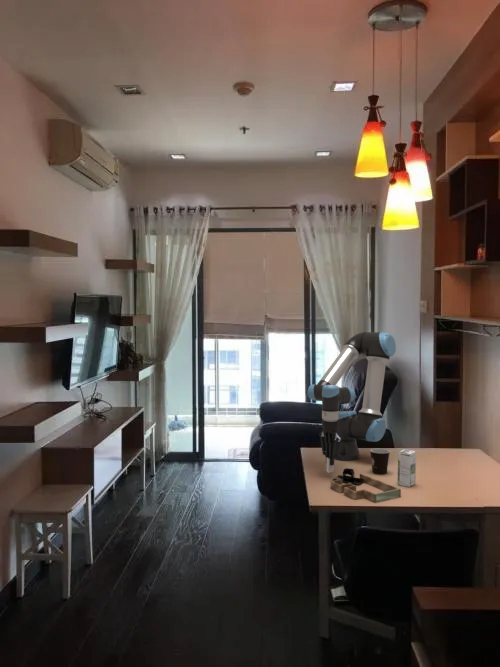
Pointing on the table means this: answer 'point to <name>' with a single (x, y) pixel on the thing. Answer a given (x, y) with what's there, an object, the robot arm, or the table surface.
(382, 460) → the coffee mug
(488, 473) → the table surface
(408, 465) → the syrup box
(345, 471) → the black notched block
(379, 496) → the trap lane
